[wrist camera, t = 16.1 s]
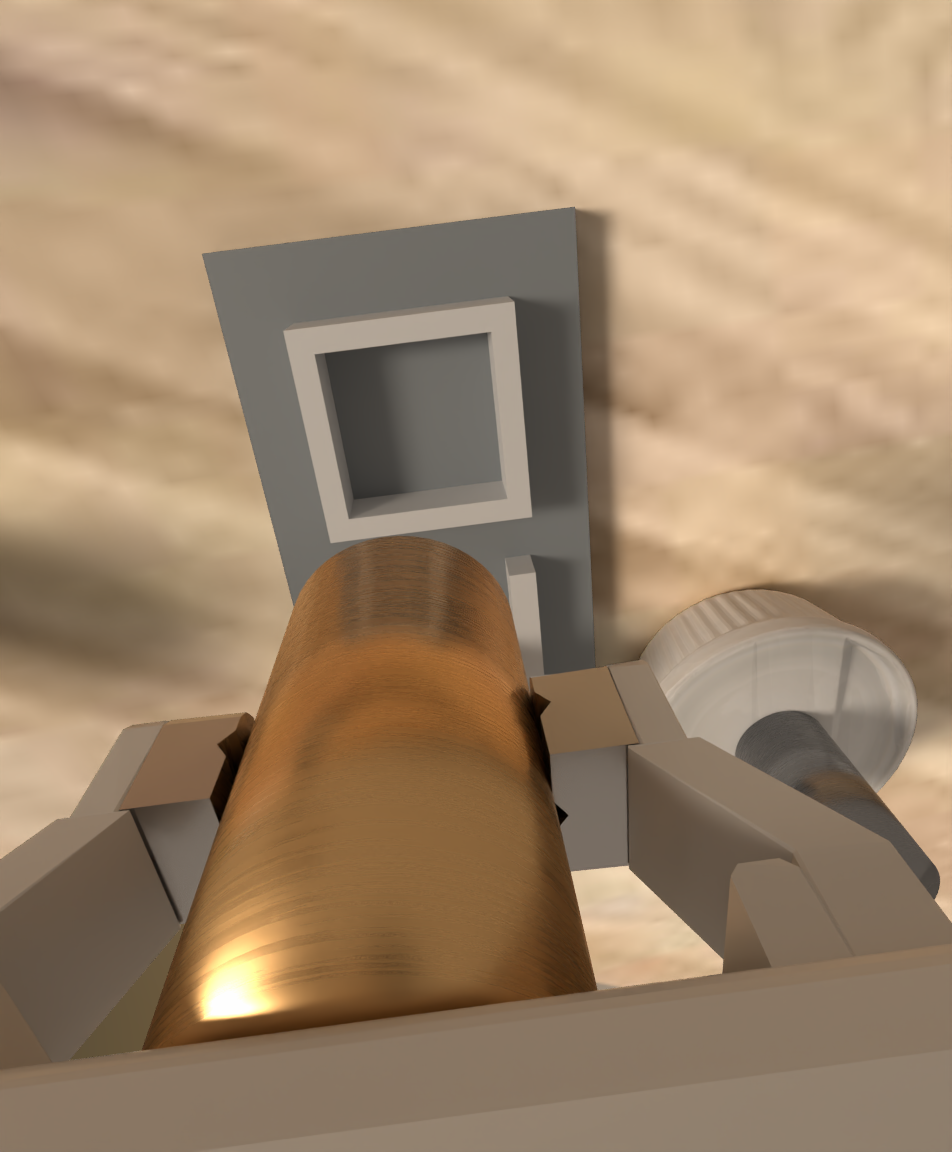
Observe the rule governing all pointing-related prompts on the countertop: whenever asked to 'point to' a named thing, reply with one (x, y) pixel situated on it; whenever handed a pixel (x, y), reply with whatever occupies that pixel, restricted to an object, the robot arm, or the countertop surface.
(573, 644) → the gray slab
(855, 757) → the ramekin
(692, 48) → the countertop surface
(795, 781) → the cylinder
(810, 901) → the robot arm
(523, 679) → the copper cell
